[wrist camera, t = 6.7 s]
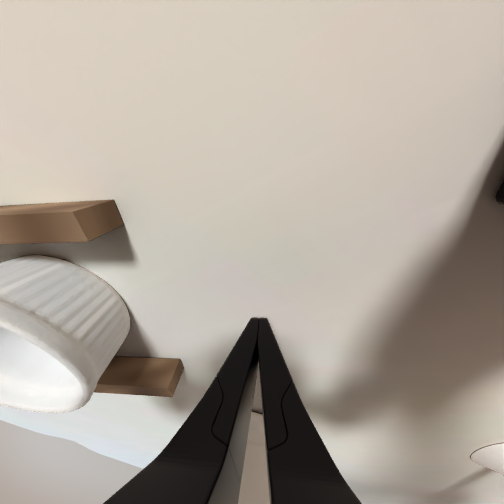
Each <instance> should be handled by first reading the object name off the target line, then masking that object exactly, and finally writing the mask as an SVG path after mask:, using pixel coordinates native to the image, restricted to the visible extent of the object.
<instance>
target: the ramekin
mask: <svg viewBox="0 0 504 504" xmlns="http://www.w3.org/2000/svg"><path fill="white" fill-rule="evenodd" d="M129 330H130V316H129V312H128V310H127V307H126V305H125V303H124V302H123V300H122V299H121V297H120V296H119V295H118V293H117V292H116V291H115V290H114V289H113V288H112V287H111V286H110V285H109V284H107V283H106V282H105V281H104V280H102V279H101V278H100V277H98V276H97V275H95V274H94V273H92V272H90V271H88V270H87V269H85V268H83V267H81V266H78V265H76V264H74V263H71V262H68V261H65V260H62V259H58V258H53V257H47V256H23V257H18V258H15V259H11V260H8V261H5V262H2V263H0V405H4V406H7V407H11V408H15V409H19V410H25V411H31V412H42V413H64V412H69V411H73V410H77V409H79V408H81V407H83V406H84V405H85V404H86V403H87V402H88V401H89V400H90V398H91V396H92V394H93V392H94V390H95V388H96V386H97V382H98V380H99V379H100V377H101V375H102V374H103V372H104V371H105V369H106V368H107V366H108V365H109V363H110V362H111V360H112V359H113V357H114V356H115V354H116V353H117V351H118V350H119V348H120V347H121V345H122V344H123V342H124V340H125V339H126V337H127V335H128V333H129Z"/></svg>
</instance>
